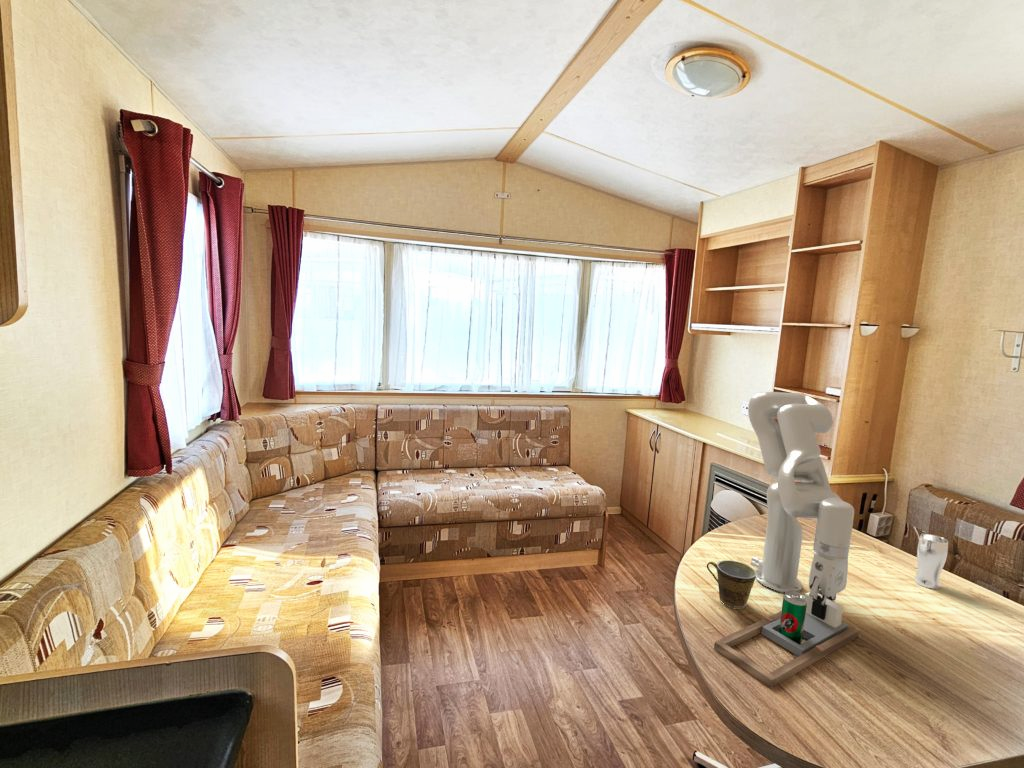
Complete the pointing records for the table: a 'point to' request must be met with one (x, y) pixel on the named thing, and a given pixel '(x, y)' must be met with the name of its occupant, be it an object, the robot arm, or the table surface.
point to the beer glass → (930, 560)
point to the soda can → (793, 616)
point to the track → (788, 668)
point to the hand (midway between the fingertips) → (821, 614)
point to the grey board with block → (810, 628)
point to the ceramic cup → (734, 582)
